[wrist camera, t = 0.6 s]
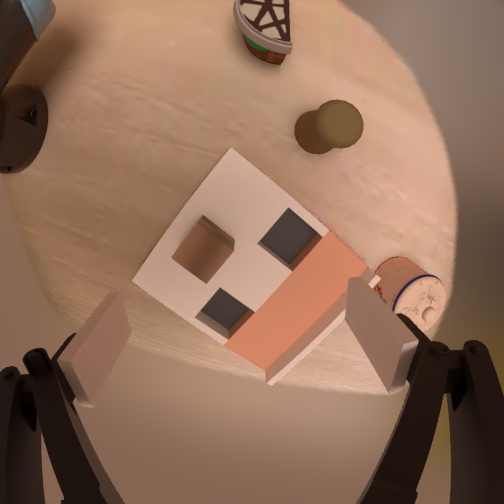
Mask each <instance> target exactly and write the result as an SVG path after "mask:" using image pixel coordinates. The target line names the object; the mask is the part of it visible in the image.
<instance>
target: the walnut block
mask: <svg viewBox="0 0 504 504" xmlns="http://www.w3.org/2000/svg"><path fill="white" fill-rule="evenodd" d="M234 244H235V239H234V238H232V237H231V236H230V235H229V234H227V233H226V232H225V231H223V230H222V229H221V228H220V227H218V226H217V225H216V224H214V223H213V222H212V221H211V220H209V219H208V218H207V217H205V216H204V215H202V217H201V218H200V219H199V221H198V222H197V223H196V225H195V226H194V227H193V228H192V230H191V231H190V232H189V234H188V235H187V236H186V238H185V239H184V240H183V242H182V243H181V244H180V246H179V247H178V248H177V250H176V251H175V253H174V254H173V255H172V257H171V258H172V259H173V260H174V261H176V262H177V263H178V264H180V265H181V266H182V267H184V268H185V269H186V270H188V271H189V272H190V273H192V274H193V275H194V276H196V277H197V278H199V279H200V280H201V281H203V282H204V283H205V284H207V283H208V282H209V281H210V279H211V278H212V277H213V276H214V275H215V273H216V272H217V271H218V270H219V269H220V267H221V266H222V265H223V264H224V263H225V261H226V260H227V259H228V258H229V257H230V255H231V254H232V253H233V252H234Z"/></svg>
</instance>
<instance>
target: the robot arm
mask: <svg viewBox="0 0 504 504" xmlns="http://www.w3.org/2000/svg"><path fill="white" fill-rule="evenodd" d="M55 11H56V8H55V4H54V3H53V1H52V0H0V173H2V174H9V173H16V172H19V171H22V170H23V169H25V168H26V167H27V166H28V165H29V164H30V163H31V162H32V161H33V160H34V158H35V157H36V155H37V154H38V152H39V150H40V148H41V145H42V143H43V140H44V137H45V133H46V128H47V120H48V111H47V104H46V100H45V98H44V96H43V94H42V92H41V91H40V90H39V89H38V88H36V87H34V86H30V85H26V84H17V85H13V86H9V87H5V86H6V84H7V83H8V81H9V79H10V78H11V76H12V75H13V73H14V71H15V70H16V68H17V67H18V65H19V64H20V62H21V61H22V60H23V58H24V57H25V55H26V54H27V52H28V51H29V50H30V48H31V47H32V46H33V44H34V43H35V42H37V41H38V40H39V38H40V35H41V33H42V32H43V31H44V29H45V28H46V27H47V25H48V24H49V23H50V22H51V20H52V19H53V17H54V15H55ZM345 320H346V322H347V324H348V325H349V327H350V328H351V330H352V332H353V333H354V335H355V337H356V338H357V340H358V342H359V343H360V345H361V347H362V348H363V350H364V352H365V353H366V355H367V357H368V358H369V360H370V362H371V363H372V365H373V367H374V368H375V370H376V372H377V374H378V375H379V377H380V379H381V380H382V382H383V384H384V386H385V387H386V389H387V391H388V393H390V392H394V391H398V390H401V389H403V388H404V385H405V382H406V379H407V381H408V382H409V384H410V388H409V390H408V393H407V395H406V398H405V400H404V404H403V407H402V410H401V412H400V415H399V417H398V420H397V422H396V425H395V428H394V430H393V432H392V434H391V437H390V439H389V441H388V443H387V446H386V448H385V450H384V452H383V454H382V456H381V458H380V460H379V463H378V465H377V466H376V468H375V470H374V472H373V474H372V476H371V478H370V480H369V482H368V484H367V485H366V487H365V489H364V491H363V492H362V494H361V496H360V498H359V499H358V501H357V503H356V504H415V501H416V498H417V494H418V493H417V492H416V488H417V485H418V483H419V480H420V478H421V475H422V472H423V469H424V466H425V463H426V460H427V457H428V454H429V451H430V448H431V444H432V441H433V437H434V434H435V430H436V426H437V422H438V418H439V414H440V410H441V405H442V400H443V395H444V394H445V393H446V394H447V402H448V412H449V423H450V440H451V490H450V504H504V396H503V392H502V389H501V386H500V383H499V379H498V377H497V374H496V371H495V368H494V365H493V362H492V359H491V357H490V354H489V351H488V349H487V347H486V346H485V345H484V344H483V343H482V342H479V341H477V340H470V341H467V342H465V344H464V346H463V348H462V350H450V349H449V348H448V347H447V346H446V345H445V344H443V343H441V342H436V341H430V340H429V338H428V337H427V336H426V335H425V334H424V333H423V332H422V331H421V330H420V329H419V328H418V326H417V325H416V324H414V322H413V321H412V320H411V319H410V318H409V317H408V316H406V315H404V314H402V313H397V314H395V313H394V312H393V311H392V310H391V309H390V307H389V306H388V305H387V304H386V303H385V302H384V301H383V300H382V299H381V298H380V297H379V296H378V294H377V293H376V292H375V291H374V290H373V289H372V288H371V287H370V286H369V285H368V284H367V283H366V282H365V281H364V280H363V279H362V277H351V278H349V280H348V291H347V302H346V311H345ZM130 334H131V328H130V325H129V321H128V317H127V314H126V310H125V306H124V302H123V298H122V294H121V292H110V293H109V294H108V295H107V296H106V297H105V299H104V300H103V301H102V302H101V303H100V305H99V306H98V307H97V308H96V310H95V311H94V312H93V313H92V315H91V316H90V317H89V318H88V320H87V321H86V322H85V323H84V325H83V326H82V327H81V328H80V330H79V331H78V332H77V333H74V334H72V335H71V336H69V337H68V338H67V339H66V341H65V342H64V343H63V345H62V346H61V347H60V349H59V350H58V351H57V352H56V353H55V355H54V356H53V357H52V359H51V360H50V358H49V356H48V354H47V352H46V350H45V349H43V348H36V349H33V350H31V351H29V352H27V353H26V354H25V355H24V357H23V363H24V365H25V366H26V368H27V370H28V372H29V374H23V375H21V374H20V372H19V370H18V369H17V367H14V366H10V367H6V368H5V369H3V370H2V371H1V372H0V504H45V498H44V489H43V476H42V460H41V459H42V457H41V431H42V435H43V438H44V442H45V445H46V449H47V452H48V455H49V458H50V461H51V464H52V467H53V470H54V473H55V475H56V478H57V480H58V483H59V486H60V488H61V491H62V493H63V495H64V500H61V504H125V503H124V501H123V500H122V498H121V497H120V495H119V493H118V492H117V490H116V489H115V487H114V485H113V484H112V482H111V480H110V478H109V477H108V475H107V473H106V472H105V470H104V468H103V466H102V465H101V462H100V460H99V458H98V456H97V454H96V453H95V451H94V449H93V446H92V444H91V442H90V440H89V438H88V436H87V434H86V432H85V429H84V427H83V425H82V422H81V420H80V418H79V415H78V413H77V411H76V408H75V406H74V404H73V403H72V402H73V400H74V399H75V397H76V399H77V401H78V402H79V404H80V406H86V407H91V408H94V406H95V404H96V401H97V399H98V397H99V395H100V393H101V391H102V389H103V387H104V385H105V383H106V380H107V379H108V377H109V375H110V373H111V370H112V368H113V366H114V364H115V363H116V360H117V359H118V356H119V355H120V353H121V351H122V349H123V347H124V345H125V343H126V341H127V339H128V337H129V335H130Z"/></svg>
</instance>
